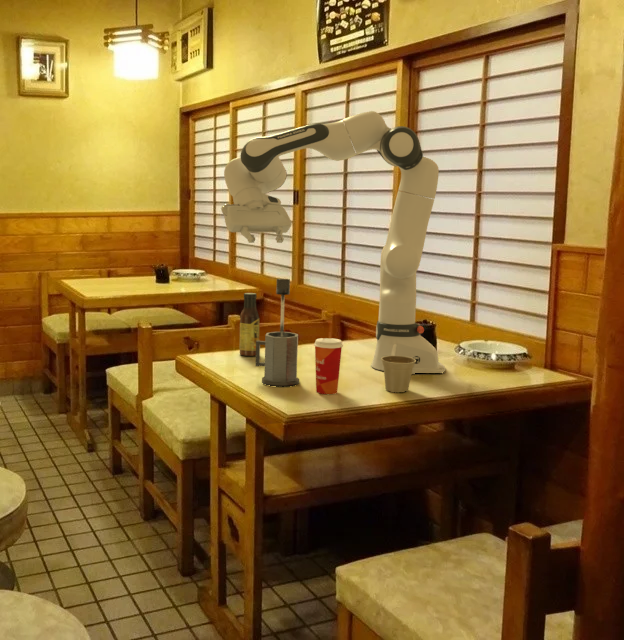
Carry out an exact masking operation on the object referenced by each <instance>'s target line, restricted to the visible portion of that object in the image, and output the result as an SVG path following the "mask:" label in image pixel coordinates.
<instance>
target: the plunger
mask: <svg viewBox="0 0 624 640" xmlns="http://www.w3.org/2000/svg"><path fill="white" fill-rule="evenodd" d="M290 289H291V279H290V278H276V290H275V294H276V295H279V296H280V295H281V296H280V325H279V327H280V328H279V332H280V337H283V334H284V332H285V331H284V327H285V296H287V295H288V296H289V295H290V294H291V293H290Z"/></svg>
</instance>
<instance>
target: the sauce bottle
mask: <svg viewBox="0 0 624 640" xmlns="http://www.w3.org/2000/svg"><path fill="white" fill-rule="evenodd" d="M243 300H244V302H243V309H242V310H241V312H240V315H239V316H240V317H239V319H240V320H239V321H240V322H239V345H238V348H239V355H241V356H243V357H254V356H255V357H256V340H257V341H260V315H259V313H258V309H257V293H255V292H254V293H253V292H245V293H243Z"/></svg>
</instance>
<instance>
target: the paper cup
mask: <svg viewBox="0 0 624 640" xmlns="http://www.w3.org/2000/svg"><path fill="white" fill-rule="evenodd" d="M313 346H314V354H315V355H314V359H315V360H314V363H315V391H316V393H318V394H320V395H327V394H329V395H335V393H336V394H337V393H338V388H339V379H340V378H339V377H340V367H341V359H342V348H343V346H344V345H343V343H342V340H341V339H338V338H332V337H331V338H327V337H325V338H322V337H321V338H317V339H315V342H314V344H313Z"/></svg>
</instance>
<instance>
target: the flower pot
mask: <svg viewBox="0 0 624 640" xmlns="http://www.w3.org/2000/svg"><path fill="white" fill-rule="evenodd" d="M381 360H382V363H383V366H384V371H383V373H384V386H385V390H386V391H389V392H391V393H394V392H395V393H396V392H403V393H404V392H405V391H407V392H408V391H409V389H410V383H411V379H412V378H411V377H412V375H413V374H412V369H413V367H414V363H415V362H416V360H415V359H413V358H410V357H405V356H385V357H382V358H381Z"/></svg>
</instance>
